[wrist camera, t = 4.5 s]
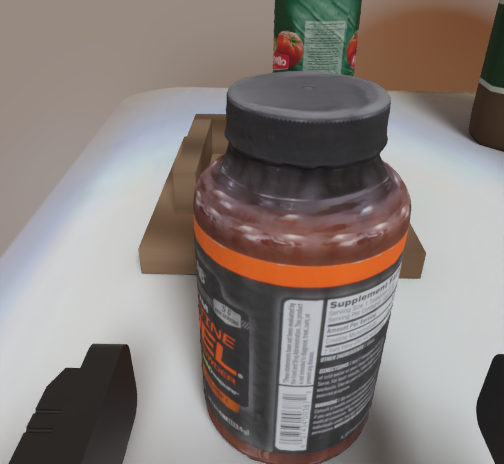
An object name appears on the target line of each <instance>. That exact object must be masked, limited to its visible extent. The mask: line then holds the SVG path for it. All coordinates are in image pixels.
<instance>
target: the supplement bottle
mask: <svg viewBox="0 0 504 464" xmlns="http://www.w3.org/2000/svg"><path fill="white" fill-rule="evenodd" d="M390 104H391V98H390V95H389V94H388V92H387V91H386V90H384V89H383V88H382V87H381V86H379V85H377V84H375V83H373V82H369V81H364V80H362V79H360V78H356V77H352V76H347V75H341V74H335V73H322V72H314V71H287V72H278V73H268V74H262V75H256V76H251V77H247V78H244V79H241V80H238V81H237V82H235V83H234V84H233V85H232V86H230V87H229V89H228V92H227V106H226V128H225V131H224V135H225V137H226V139H227V140H228V142H229V143H228V147H227V150H226V153H224V154H223V155H221V156H219V157H218V158H216V159H215V160H214V161H213V162H212V163H211V164H210V165H209V166H208V167H207V168H206V169H205V170H204V171H203V172H202V174H201V176H200V178H199V179H198V182H197V184H196V186H195V190H194V201H193V213H194V245H195V257H196V271H197V286H198V299H199V305H198V306H199V320H200V335H201V339H200V342H201V352H202V369H203V383H204V393H205V399H206V403H207V407H208V411H209V415H210V417H211V419H212V421H213V423H214V425H215V426H216V428H217V430H218V431H219V432H220V434H221V435H222V436H223V437H224V438H225V439H226V440H227V441H228V442H229V443H230V444H231V445H232V446H233V447H235V448H236V449H237V450H238V451H240V452H242V453H243V454H246V455H247V456H248V457H249V458H250V459H253V460H255V461H260V462H264V463H267V464H319V463H323V462H324V461H327V460H329V459H331V458H332V457H335V456H337V455H339V454H340V453H341V452H343V451H344V450H346V449H347V448H348V447H349V446H350V445H351V444H352V443H353V442H354V441H355V440H356V439H357V437H358V436H359V434H360V433H361V431H362V429H363V427H364V425H365V423H366V421H367V418H368V413H369V409H370V406H371V404H372V398H373V395H374V389H375V384H376V381H377V375H378V370H379V366H380V363H381V358H382V352H383V347H384V342H385V339H386V333H387V328H388V324H389V319H390V315H391V310H392V306H393V300H394V296H395V292H396V287H397V282H398V278H399V273H400V269H401V263H402V260H403V253H404V246H405V242H406V238H407V233H408V229H409V223H410V214H411V200H410V196H409V193H408V190H407V188H406V186H405V184H404V182H403V181H402V179H401V177H400V176H399V174H398V173H397V172H396V171H395V170H394V169H393V168H392V167H390V166H389V165H388V164H387V163H385V162H384V161H382V159H381V157H380V152H381V151H382V150H383V149H384V147H385V146H386V144H387V140H388V138H387V125H388V118H389V113H390Z"/></svg>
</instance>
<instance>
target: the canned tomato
mask: <svg viewBox="0 0 504 464" xmlns="http://www.w3.org/2000/svg"><path fill="white" fill-rule="evenodd" d="M361 2H362V0H275V10H274V14H275V20H274V48H273V51H274V55H273V73H278V72H287V71H314V72H322V73H335V74H341V75H347V76H352V77H354V76H353V75H354V65H355V56H356V48H357V38H358V30H359V21H360V14H361Z"/></svg>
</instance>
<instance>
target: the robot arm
mask: <svg viewBox="0 0 504 464" xmlns="http://www.w3.org/2000/svg"><path fill="white" fill-rule="evenodd" d="M136 408H137V389H136V383H135V378H134V372H133V366H132V360H131V354H130V349H129V346H128V345H127V344H92V345H91V346H90V348H89V350H88V352H87V354H86V356H85V359H84V361H83V363H82V366H81V368H65V369H64V370H63V371H62V372H61V373H60V374H59V375H58V376H57V377H56V378H55V379H54V380H53V381H52V382H51V383H50V384H49V385H48V386H47V387H46V389H45V391H44V393H43V395H42V397H41V399H40V401H39V403H38V405H37V407H36V412H35V414H33V415H32V417H31V419H30V421H29V423H28V425H27V427H26V428H27V429H26V433H24V434H23V436H22V438H21V440H20V442H19V444H18V446H17V448H16V450H15V452H14V454H13V456H12V458H11V460H10V462H9V464H122V463H123V460H124V456H125V452H126V449H127V445H128V441H129V438H130V434H131V430H132V427H133V423H134V419H135V415H136ZM476 413H477V421H478V425H479V428H480V431H481V433H482V435H483V438H484V440H485V442H486V444H487V447H488V449H489V451H490V453H491V456H492V458H493V460H494V462H495V464H504V354H498V355H496V356H495V357H494V358H493V360H492V363H491V365H490V368H489V371H488V373H487V376H486V379H485V381H484V384H483V387H482V389H481V392H480V395H479V397H478V400H477V406H476Z"/></svg>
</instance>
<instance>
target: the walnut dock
mask: <svg viewBox="0 0 504 464" xmlns="http://www.w3.org/2000/svg"><path fill="white" fill-rule="evenodd" d="M225 128H226V114H196V115H195V118H194V120H193V123H192V125H191V128H190V130H189V133H188V135H187V137H184V139H183V141H182V144H181V146H180V149H179V151H178V154H177V156H176V158H175V161H174V163H173V166H172V168H171V171H170V173H169V176H168V178H167V180H166V183H165V185H164V188H163V190H162V193H161V195H160V197H159V200H158V202H157V205H156V207H155V210H154V212H153V214H152V217H151V219H150V222H149V224H148V227H147V229H146V232H145V234H144V236H143V239H142V241H141V244H140V246H139V256H140V263H141V270H142V273H145V274H197V271H196V257H195V245H194V213H193V201H194V190H195V186H196V184H197V182H198V179H199V178H200V176H201V174H202V172H203V171H204V170H205V169H206V168H207V167H208V166H209V165H210V164H211V163H212V162H213V161H214V160H215V159H216V158H218V157H219V156H221V155H223V154H224V153H226V150H227V147H228V143H229V142H228V140H227V139H226V137H225V135H224V131H225ZM425 256H426V252H425V250H424V248H423V247H422V245H421V243H420V241H419V239H418V237H417V235H416V233H415V232H414V230H413V228H412V226H411V224H410V223H409V229H408V233H407V238H406V242H405V246H404V253H403V260H402V263H401V269H400V273H399V278H420V277H421V273H422V269H423V265H424V260H425Z"/></svg>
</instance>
